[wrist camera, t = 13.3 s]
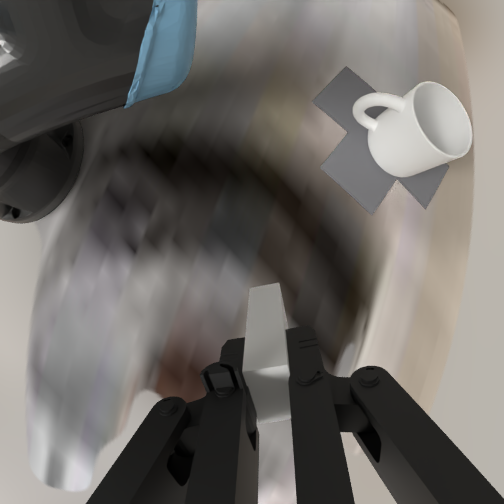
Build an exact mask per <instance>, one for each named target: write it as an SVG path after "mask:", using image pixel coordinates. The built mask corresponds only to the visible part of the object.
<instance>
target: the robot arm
mask: <svg viewBox="0 0 504 504" xmlns="http://www.w3.org/2000/svg"><path fill="white" fill-rule="evenodd" d="M196 25H197V0H0V220H3V221H7V222H12V223H29V222H33V221H36V220H38V219H40V218H42V217H44V216H46V215H47V214H49V213H50V212H51V211H52V210H54V209H55V208H56V207H57V206H58V205H59V204H60V203H61V201H62V200H63V199H64V198H65V196H66V195H67V194H68V192H69V190H70V189H71V187H72V185H73V183H74V181H75V179H76V177H77V175H78V172H79V169H80V166H81V162H82V157H83V147H84V141H83V133H82V128H81V125H80V123H79V120H81V119H84V118H87V117H90V116H93V115H96V114H99V113H102V112H105V111H108V110H111V109H115V108H118V107H121V106H123V108H124V109H125V108H129V107H131V106H132V105H133V104H134V103H135V102H138V101H141V100H145V99H148V98H151V97H155V96H158V95H161V94H165V93H168V92H171V91H173V90H175V89H176V88H178V87H179V86H180V85H181V84H182V83H183V81H184V80H185V79H186V77H187V75H188V73H189V71H190V68H191V65H192V60H193V55H194V48H195V38H196ZM200 377H201V380H202V382H203V385H204V387H205V389H206V392H207V394H206V396H205V397H203V398H201V399H199V400H196V401H193V402H189V403H186V402H185V401H184V400H183V399H182V398H179V397H167V398H164V399H162V400H160V401H159V402H157V403H156V404H155V405H154V406H153V408H152V409H151V411H150V412H149V413H148V415H147V416H146V418H145V419H144V421H143V422H142V424H141V425H140V427H139V428H138V430H137V431H136V432H135V434H134V435H133V437H132V438H131V440H130V441H129V443H128V444H127V445H126V447H125V448H124V450H123V451H122V453H121V454H120V456H119V457H118V458H117V460H116V461H115V463H114V464H113V465H112V467H111V468H110V470H109V471H108V473H107V474H106V476H105V477H104V479H103V480H102V481H101V483H100V484H99V486H98V487H97V488H96V490H95V491H94V493H93V494H92V496H91V497H90V498H89V500H88V502H87V503H86V504H258V467H259V432H258V428H257V426H256V420H257V419H258V422H259V424H260V423H268V422H275V421H282V420H289V419H291V424H292V437H293V451H294V465H295V480H296V496H297V504H355V503H354V497H353V493H352V487H351V482H350V477H349V472H348V467H347V462H346V457H345V453H344V448H343V443H342V439H341V434H340V432H352V433H353V436H354V437H355V439H356V440H357V442H358V443H359V445H360V447H361V448H362V450H363V451H364V453H365V454H366V456H367V457H368V459H369V461H370V462H371V463H372V465H373V467H374V468H375V470H376V471H377V473H378V475H379V476H380V478H381V479H382V481H383V482H384V484H385V485H386V487H387V489H388V490H389V492H390V493H391V495H392V496H393V498H394V499H395V501H396V502H397V504H504V498H502V496H501V495H500V494H499V493H498V492H497V491H496V490H495V488H494V487H493V486H492V485H491V484H490V483H489V482H488V481H487V479H486V478H485V477H484V476H483V475H482V474H481V473H480V472H479V471H478V469H477V468H476V467H475V466H474V465H473V464H472V463H471V462H470V461H469V459H468V458H467V457H466V456H465V455H464V454H463V453H462V452H461V451H460V450H459V449H458V447H457V446H456V445H455V444H454V443H453V442H452V441H451V440H450V439H449V438H448V436H447V435H446V434H445V433H444V432H443V431H442V430H441V429H440V428H439V427H438V426H437V424H436V423H435V422H434V421H433V420H432V419H431V418H430V417H429V416H428V415H427V414H426V413H425V411H424V410H423V409H422V408H421V407H420V406H419V405H418V404H417V403H416V402H415V401H414V400H413V399H412V397H411V396H410V395H409V394H408V393H407V392H406V391H405V390H404V389H403V388H402V387H401V386H400V385H399V384H398V382H397V381H396V380H395V379H394V378H393V377H392V376H391V375H390V374H389V373H388V372H387V371H386V370H385V369H383V368H381V367H377V366H366V367H362V368H360V369H358V370H356V371H355V372H354V373H353V374H352V375H351V377H336V376H333V375H331V374H329V373H328V372H327V371H326V370H325V369H324V366H323V362H322V358H321V354H320V350H319V346H318V342H317V338H316V334H315V331H314V330H313V329H312V328H311V327H310V326H309V325H307V326H302V327H296V328H291V329H288V324H287V319H286V314H285V309H284V304H283V300H282V295H281V290H280V285H279V283H275V284H269V285H264V286H259V287H254V288H250V291H249V302H248V313H247V324H246V335H245V337H244V338H237V339H231V340H227V342H226V343H225V344H224V346H223V347H222V350H221V356H220V361H219V362H216V363H213V364H211V365H209V366H207V367H206V368H205V369H203V370H202V372H201V374H200Z"/></svg>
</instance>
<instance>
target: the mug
mask: <svg viewBox="0 0 504 504" xmlns="http://www.w3.org/2000/svg"><path fill="white" fill-rule="evenodd" d="M373 106H384V107H388V109H386V110H385V111H384V112H382V113H381V114H380V115H379V116H378V117H377V118H376V119H373V118H371V117H369V116H368V115H366V114H365V112H364V111H365V110H366V109H367V108H369V107H373ZM353 116H354V117H355V119H356V121H357V122H358V123H359V124H361V125H362V126H364V127H365V128H367V129H369V130H368V146H369V149H370V152H371V155H372V157H373V158H374V160H375V161H376V163H377V164H378V165H379V166H380V167H381V168H382V169H383V170H384V171H386V172H387V173H389V174H391V175H393V176H396V177H409V176H413V175H415V174H418V173H421V172H423V171H426V170H429V169H431V168H434V167H436V166H439V165H442V164H444V163H447V162H450V161H452V160H455V159H458V158H460V157H463V156H464V155H465V154H466V153H467V152H468V151H469V149H470V147H471V144H472V138H473V134H472V126H471V122H470V119H469V116H468V114H467V112H466V110H465V108H464V106H463V105H462V103H461V102H460V100H459V99H458V98H457V97H456V96H455V95H454V94H453V93H452V92H451V91H450V90H449V89H447V88H446V87H444V86H443V85H441V84H439V83H436V82H431V81H426V82H422V83H420V84H418V85H417V86H416V87H414V88H413V89H412V90H410V91H409V92H408V93H407V94H405V95H404V96H403V97H399V96H397V95H393V94H389V93H370V94H367V95H364V96H362V97H361V98H359V99H358V100H357V101H356V102H355V104H354V106H353Z"/></svg>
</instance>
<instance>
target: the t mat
mask: <svg viewBox="0 0 504 504" xmlns="http://www.w3.org/2000/svg"><path fill="white" fill-rule="evenodd" d="M370 93H377V92H376V91H375V90H374V89H373V88H372V87H370V86H369V85H368V84H367V83H366V82H365V81H363V80H362V79H361V78H360V77H359V76H358V75H356V74H355V73H354V72H353V71H352V70H350V69H349V68H348V67H347V66H346V67H345V68H344V69H343V70H342V71H341V72H340V73H339V74H338V75H337V76H336V77H335V78H334V79H333V80H332V81H331V82H330V83H329V84H328V85H327V86H326V88H325V89H324V90H323V91H322V92H321V93H320V94H319V95H318V96H317V97H316V98H315V99H314V100H313V101H312V102H313V103H314V104H315V105H316V106H318V107H319V108H320V109H321V110H322V111H324V112H325V113H326V114H327V115H328V116H330V117H331V118H332V119H333V120H334V121H335V122H337V123H338V124H339V125H340V126H341V127H342V128H344V129H345V130H346V131H347V132H348V133H347V135H346V136H345V137H344V138H343V140H342V141H341V142H340V143H339V145H338V146H337V147H336V148H335V149H334V151H333V152H332V153H331V154H330V156H329V157H328V158H327V159H326V161H325V162H324V163H323V164H322V166H321V167H320V168H321V169H322V170H323V171H324V172H325V173H326V174H328V175H329V176H330V177H331V178H332V179H333V180H334V181H335V182H337V183H338V184H339V185H340V186H341V187H342V188H343V189H344V190H345V191H346V192H348V193H349V194H350V195H351V196H352V197H353V198H354V199H355V200H356V201H357V202H358V203H359V204H360V205H361V206H363V207H364V208H365V209H366V210H367V211H368V212H369V213H370V214H371V215H373V213H374V212H375V210H376V209H377V207H378V206H379V205H380V203H381V202H382V200H383V199H384V197H385V196H386V194H387V193H388V191H389V190H390V188H391V187H392V185H393V184H394V182H395V181H396V179H397V180H398V181H399V182H400V183H401V184H402V185H403V186H404V187H405V188H406V189H407V190H408V191H409V192H410V193H411V194H412V195H413V196H414V197H415V198H416V200H417V201H418V202H419V203H420V204H421V205H422V206H423V207H424V208H425V209H426V208H427V206H428V204H429V202H430V201H431V199H432V197H433V195H434V194H435V192H436V190H437V188H438V186H439V185H440V183H441V181H442V179H443V177H444V175H445V173H446V171H447V170H448V168H449V166H448V165H447V163H444V164H442V165H439V166H436V167H434V168H431V169H429V170H426V171H423V172H421V173H418V174H415V175H413V176H409V177H396V176H393V175H391V174H389V173H387V172H386V171H384V170H383V169H382V168H381V167H380V166H379V165H378V164H377V163H376V161H375V160H374V158H373V157H372V155H371V152H370V149H369V146H368V130H369V129H367V128H365V127H364V126H362V125H361V124H359V123H358V122H357V121H356V119H355V117H354V116H353V106H354V104H355V102H356V101H357V100H358V99H359V98H361V97H362V96H364V95H367V94H370ZM386 109H388V107H384V106H373V107H369V108H367V109H366V110H365V111H364V112H365V114H366V115H368V116H369V117H371V118H373V119H376V118H377V117H378V116H379V115H380V114H381V113H382V112H384V111H385V110H386Z"/></svg>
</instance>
